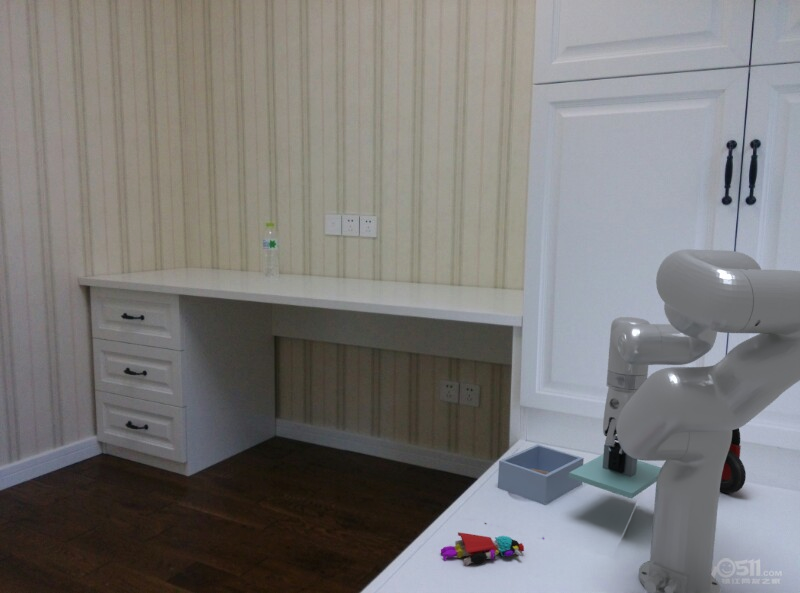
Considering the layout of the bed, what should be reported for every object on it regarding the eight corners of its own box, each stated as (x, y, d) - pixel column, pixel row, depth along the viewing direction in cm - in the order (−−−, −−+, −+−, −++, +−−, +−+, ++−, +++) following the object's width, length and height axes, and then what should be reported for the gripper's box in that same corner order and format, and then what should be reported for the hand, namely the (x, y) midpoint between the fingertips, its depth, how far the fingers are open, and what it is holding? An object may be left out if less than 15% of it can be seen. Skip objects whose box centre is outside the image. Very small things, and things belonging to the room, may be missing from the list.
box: (544, 508, 137) (546, 476, 136) (497, 491, 145) (499, 460, 144) (581, 487, 148) (583, 458, 148) (536, 472, 157) (537, 444, 156)
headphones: (713, 481, 155) (720, 399, 152) (750, 498, 146) (759, 411, 143) (657, 492, 147) (664, 406, 145) (693, 510, 138) (701, 419, 136)
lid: (631, 503, 121) (634, 467, 120) (568, 482, 130) (570, 448, 129) (666, 478, 133) (670, 445, 133) (607, 460, 142) (609, 429, 141)
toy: (446, 570, 112) (529, 565, 114) (446, 548, 112) (530, 544, 114) (437, 548, 120) (515, 544, 122) (437, 527, 119) (516, 524, 121)
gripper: (627, 391, 121) (619, 485, 123) (661, 377, 132) (654, 463, 135) (589, 383, 126) (583, 474, 128) (626, 370, 137) (619, 453, 140)
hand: (619, 468), depth 131 cm, fingers closed on lid, 2 cm apart
